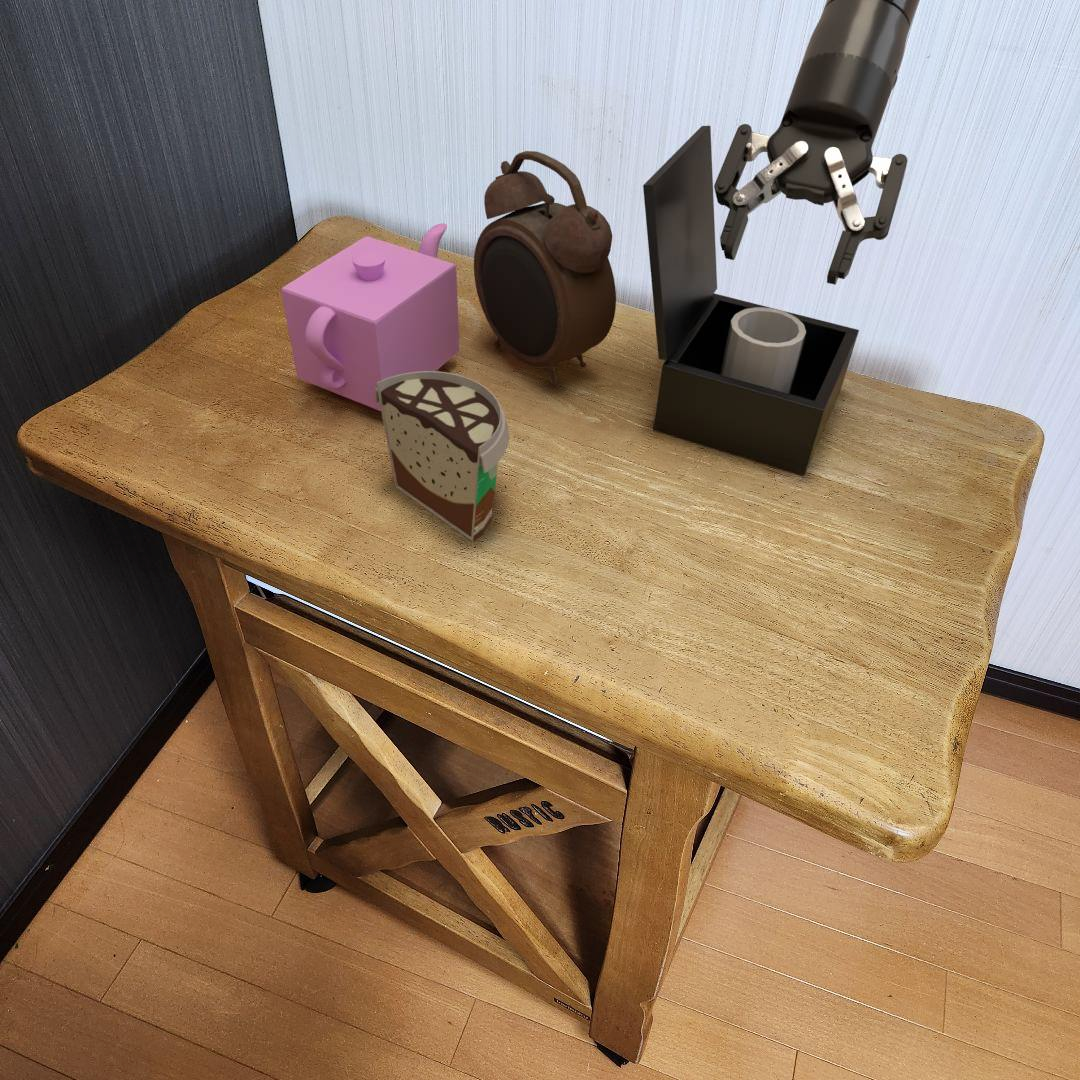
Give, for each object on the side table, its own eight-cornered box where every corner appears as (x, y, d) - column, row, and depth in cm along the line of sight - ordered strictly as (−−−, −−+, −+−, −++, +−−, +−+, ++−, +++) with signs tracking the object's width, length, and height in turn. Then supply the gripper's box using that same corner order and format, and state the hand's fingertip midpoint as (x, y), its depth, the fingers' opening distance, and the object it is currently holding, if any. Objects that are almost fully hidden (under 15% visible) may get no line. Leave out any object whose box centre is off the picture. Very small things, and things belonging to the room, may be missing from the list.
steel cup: (793, 393, 86) (813, 318, 80) (775, 430, 82) (795, 353, 76) (728, 375, 88) (743, 300, 82) (707, 410, 84) (721, 334, 78)
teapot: (369, 441, 80) (353, 315, 72) (281, 405, 84) (255, 280, 75) (490, 339, 93) (489, 221, 84) (410, 311, 97) (400, 195, 88)
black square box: (839, 393, 88) (859, 329, 83) (804, 476, 79) (824, 410, 74) (701, 355, 92) (712, 292, 87) (652, 430, 83) (662, 364, 78)
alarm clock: (464, 343, 92) (456, 142, 78) (519, 320, 96) (521, 123, 82) (559, 410, 85) (570, 200, 71) (615, 382, 88) (636, 176, 74)
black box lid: (710, 125, 77) (701, 125, 78) (652, 185, 68) (642, 185, 69) (717, 288, 87) (709, 288, 87) (667, 360, 77) (658, 359, 78)
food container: (540, 513, 74) (544, 414, 67) (486, 551, 71) (484, 451, 64) (437, 447, 80) (431, 349, 73) (383, 479, 77) (371, 379, 70)
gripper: (757, 35, 72) (689, 231, 72) (943, 65, 68) (870, 272, 68) (762, 87, 79) (701, 265, 80) (931, 117, 75) (864, 304, 75)
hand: (779, 268), depth 74 cm, fingers open, 8 cm apart
